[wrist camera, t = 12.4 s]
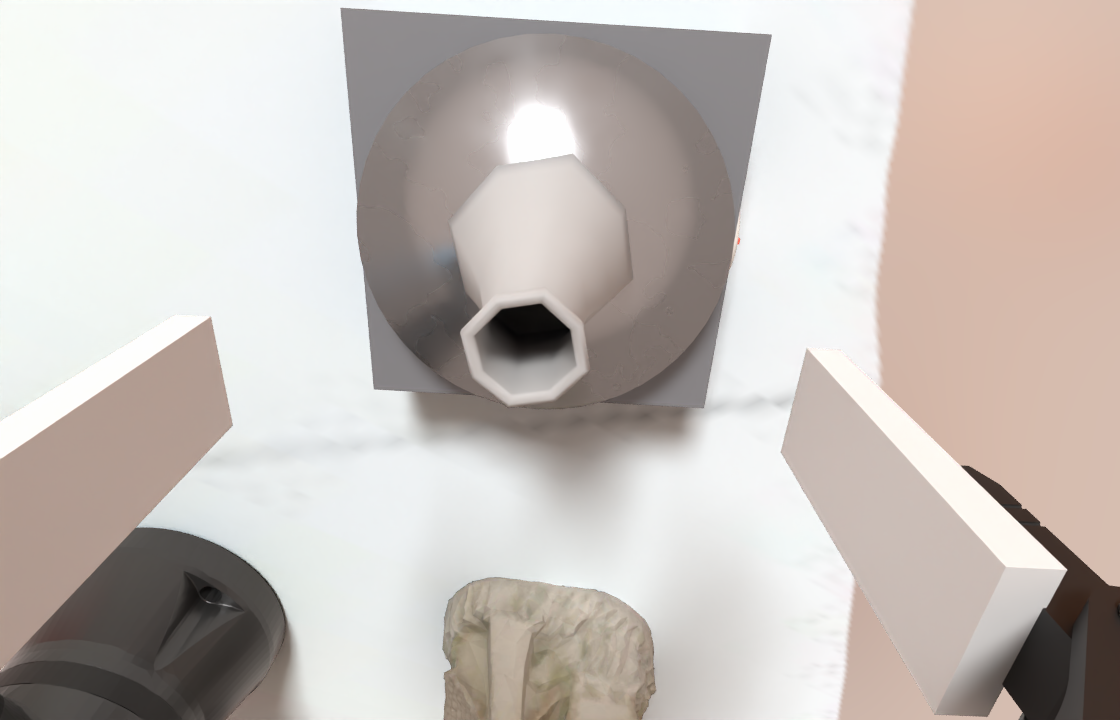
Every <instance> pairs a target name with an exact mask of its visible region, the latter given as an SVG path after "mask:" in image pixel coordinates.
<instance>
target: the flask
mask: <svg viewBox="0 0 1120 720" xmlns="http://www.w3.org/2000/svg"><path fill="white" fill-rule="evenodd" d="M448 222H449V226H450V231H451V235H452V239H453V243H454V247H455V252H456V256H457V260H458V264H459V269H460V273H461V277H462V281H463V285H464V290H465V291H466V293H467V294H468V295H469V297H470V298H471V299H472V300H473V301H474V302H475V303H476V305H477V306H478V307H479V309H480V311H479V312H478V313H477V314H476V315H475V316H474V317H473V318H472V319H471V320H470V321H469V322H468V323H467V324H466V325H465V326H464V327H463V328H462V329H461V332H460V334H461V338H462V342H463V346H464V350H465V354H466V358H467V362H468V366H469V370H470V374H471V378H472V379H473V380H474V381H476V382H477V383H478V384H479V385H480V386H482V387H483V388H484V389H485V390H487V391H488V392H489V393H490V394H491V395H493V396H494V397H495V398H496V399H497V400H499V401H500V402H501V403H502V404H504V405H505V406H506V407H507V408H512V407H520V406H528V405H535V404H543V403H551V402H556V401H557V400H558V399H559V398H560V397H561V396H562V395H564V394H565V393H566V392H567V391H568V390H569V389H570V388H571V387H572V386H574V385H575V384H576V383H577V382H578V381H579V380H580V379H581V378H583V377H584V376H585V375H586V374H587V373H588V372H589V371H590V365H589V358H588V352H587V345H586V338H585V332H584V325H585V324H586V323H587V322H588V321H589V320H590V319H591V318H592V317H593V316H594V315H595V314H596V313H598V312H599V311H600V310H601V309H602V308H603V307H604V306H605V305H606V304H607V303H608V302H609V301H610V300H611V299H613V298H614V297H615V296H616V295H617V294H618V293H619V292H620V291H621V290H622V289H623V288H624V287H625V286H626V285H628V284H629V283H630V282H631V281H632V280H633V279H634V278H633V269H632V260H631V251H630V242H629V233H628V224H627V215H626V208H625V207H624V206H623V205H622V204H621V203H620V202H619V201H618V200H617V198H616V197H615V196H614V195H613V194H612V193H611V192H610V191H609V190H608V189H607V188H606V187H605V186H604V185H603V184H602V183H601V182H600V181H599V180H598V179H597V178H596V177H595V176H594V175H593V174H592V173H591V172H590V171H589V170H588V169H587V168H586V167H585V166H584V165H583V164H582V162H581V161H580V160H579V159H578V158H577V157H576V156H575V155H574V154H573V153H572V154H565V155H559V156H553V157H547V158H541V159H535V160H529V161H523V162H517V163H511V164H505V165H498V166H496V167H495V168H494V170H493V171H492V172H491V173H490V174H489V175H488V176H487V177H486V179H485V180H484V181H483V182H482V183H481V184H480V185H479V186H478V188H477V189H476V190H475V191H474V192H473V193H472V194H471V195H470V197H469V198H468V199H467V200H466V201H465V202H464V203H463V204H462V206H461V207H460V208H459V209H458V210H457V211H456V212H455V213H454V215H453V216H452V217H451V218H450V219H449V220H448Z"/></svg>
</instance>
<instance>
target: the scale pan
mask: <svg viewBox="0 0 1120 720" xmlns="http://www.w3.org/2000/svg"><path fill="white" fill-rule="evenodd" d="M572 153H573V154H574V155H575V156H576V157H577V158H578V159H579V160H580V161H581V162H582V164H583V165H584V166H585V167H586V168H587V169H588V170H589V171H590V172H591V173H592V174H593V175H594V176H595V177H596V178H597V179H598V180H599V181H600V182H601V183H602V184H603V185H604V186H605V187H606V188H607V189H608V190H609V191H610V192H611V193H612V194H613V195H614V196H615V197H616V198H617V200H618V201H619V202H620V203H621V204H622V205H623V206H624V207H625V208H626V215H627V224H628V233H629V242H630V251H631V260H632V269H633V278H634V279H633V280H632V281H631V282H630V283H629V284H628V285H626V286H625V287H624V288H623V289H622V290H621V291H620V292H619V293H618V294H617V295H616V296H615V297H614V298H613V299H611V300H610V301H609V302H608V303H607V304H606V305H605V306H604V307H603V308H602V309H601V310H600V311H599V312H598V313H596V314H595V315H594V316H593V317H592V318H591V319H590V320H589V321H588V322H587V323H586V324H585V325H584V332H585V338H586V345H587V352H588V358H589V365H590V371H589V372H588V373H587V374H586V375H585V376H584V377H583V378H581V379H580V380H579V381H578V382H577V383H576V384H575V385H574V386H572V387H571V388H570V389H569V390H568V391H567V392H566V393H565V394H564V395H562V396H561V397H560V398H559V399H558V400H557V401H556V402H551V403H543V404H535V405H528V406H520V407H524V408H533V409H564V408H573V407H581V406H585V405H590V404H594V403H598V402H602V401H605V400H608V399H611V398H614V397H616V396H619V395H622V394H624V393H626V392H628V391H630V390H632V389H634V388H636V387H638V386H640V385H642V384H644V383H645V382H647V381H648V380H650V379H651V378H653V377H654V376H656V375H657V374H659V373H660V372H662V371H663V370H664V369H665V368H666V367H668V366H669V365H670V364H671V363H672V362H674V361H675V360H676V359H677V358H678V357H679V356H680V355H681V354H682V353H683V352H684V351H685V350H686V349H687V347H688V346H689V345H690V344H691V343H692V342H693V341H694V339H695V338H696V337H697V335H698V334H699V333H700V331H701V330H702V328H703V327H704V326H705V324H706V323H707V321H708V319H709V317H710V316H711V314H712V312H713V310H714V308H715V306H716V305H717V303H718V300H719V298H720V295H721V293H722V290H723V288H724V285H725V282H726V279H727V275H728V271H729V267H730V263H731V259H732V253H733V244H734V236H735V217H734V203H733V196H732V190H731V183H730V180H729V176H728V173H727V170H726V166H725V163H724V160H723V157H722V155H721V152H720V150H719V148H718V146H717V144H716V142H715V139H714V137H713V135H712V133H711V132H710V130H709V128H708V127H707V125H706V124H705V122H704V121H703V119H702V117H701V116H700V114H699V113H698V111H697V110H696V109H695V108H694V107H693V105H692V104H691V103H690V102H689V101H688V100H687V98H686V97H685V96H684V95H683V94H682V92H681V91H680V90H679V89H677V88H676V87H675V86H674V85H673V84H672V83H671V82H669V81H668V80H667V79H666V78H665V77H664V76H663V75H662V74H660V73H659V72H658V71H656V70H655V69H653V68H652V67H650V66H648V65H647V64H645V63H644V62H642V61H641V60H639V59H638V58H636V57H634V56H632V55H630V54H628V53H625V52H623V51H621V50H619V49H617V48H615V47H612V46H610V45H607V44H604V43H600V42H597V41H593V40H590V39H586V38H583V37H576V36H568V35H561V34H523V35H517V36H511V37H505V38H499V39H496V40H492V41H489V42H486V43H483V44H480V45H477V46H474V47H471V48H469V49H467V50H465V51H463V52H461V53H459V54H457V55H455V56H453V57H451V58H449V59H447V60H446V61H444V62H443V63H441V64H440V65H438V66H437V67H435V68H434V69H433V70H431V71H430V72H428V73H427V74H425V75H424V76H423V77H422V78H421V79H420V80H419V81H418V82H417V83H416V84H415V85H414V86H412V87H411V88H410V89H409V90H408V91H407V92H406V93H405V94H404V95H403V97H402V98H401V99H400V101H399V102H398V103H397V104H396V106H395V107H394V108H393V109H392V111H391V112H390V113H389V114H388V116H387V118H386V120H385V121H384V123H383V125H382V126H381V128H380V130H379V132H378V133H377V135H376V137H375V139H374V142H373V144H372V146H371V149H370V151H369V154H368V156H367V159H366V161H365V165H364V169H363V173H362V177H361V181H360V185H359V194H358V203H357V237H358V243H359V250H360V256H361V261H362V265H363V268H364V271H365V275H366V278H367V282H368V284H369V287H370V289H371V291H372V294H373V296H374V298H375V300H376V303H377V305H378V306H379V308H380V310H381V312H382V313H383V315H384V317H385V318H386V320H387V322H388V324H389V325H390V326H391V328H392V329H393V330H394V332H395V333H396V334H397V335H398V337H399V338H400V339H401V341H402V342H403V343H404V344H405V345H406V346H407V347H408V348H409V349H410V350H411V351H412V352H413V353H414V354H415V356H416V357H417V358H418V359H420V360H421V361H422V362H423V363H425V364H426V365H427V366H428V367H429V368H431V369H432V370H433V371H434V372H436V373H437V374H439V375H440V376H442V377H443V378H445V379H446V380H448V381H450V382H451V383H453V384H454V385H456V386H458V387H460V388H462V389H464V390H466V391H468V392H471V393H473V394H475V395H478V396H480V397H483V398H486V399H489V400H492V401H494V402H499V403H501V402H500V401H499V400H497V399H496V398H495V397H494V396H493V395H491V394H490V393H489V392H488V391H487V390H485V389H484V388H483V387H482V386H480V385H479V384H478V383H477V382H476V381H474V380H473V379H472V378H471V374H470V370H469V366H468V362H467V358H466V354H465V350H464V346H463V342H462V338H461V334H460V332H461V329H462V328H463V327H464V326H465V325H466V324H467V323H468V322H469V321H470V320H471V319H472V318H473V317H474V316H475V315H476V314H477V313H478V312H479V311H480V309H479V307H478V306H477V305H476V303H475V302H474V301H473V300H472V299H471V298H470V297H469V295H468V294H467V293H466V291H465V290H464V285H463V281H462V277H461V273H460V269H459V264H458V260H457V256H456V252H455V247H454V243H453V239H452V235H451V231H450V226H449V222H448V220H449V219H450V218H451V217H452V216H453V215H454V213H455V212H456V211H457V210H458V209H459V208H460V207H461V206H462V204H463V203H464V202H465V201H466V200H467V199H468V198H469V197H470V195H471V194H472V193H473V192H474V191H475V190H476V189H477V188H478V186H479V185H480V184H481V183H482V182H483V181H484V180H485V179H486V177H487V176H488V175H489V174H490V173H491V172H492V171H493V170H494V168H495V167H496V166H498V165H505V164H511V163H517V162H523V161H529V160H535V159H541V158H547V157H553V156H559V155H565V154H572Z"/></svg>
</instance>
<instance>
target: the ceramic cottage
mask: <svg viewBox="0 0 1120 720" xmlns="http://www.w3.org/2000/svg"><path fill="white" fill-rule="evenodd" d="M443 651H444V653H445V656H446V659H448V660H449V662H450V665H451V670H449V671H447V672H445V673H444V679H445V693H446V699H445V705H444V720H642V716H643V713H644V712H645V711H646V709H647V707H648V701H649V699H650V698H651V695H652V694H654V693H655V691H656V688H655V683H654V682H655V681H654V668H653V654H654V647H653V641H652V637H651V630H650V628H649V626H648V624H647V623H646V621H645V619H643V618H642V617H641V616H640V615H639V614H638V613H637V612H636V611H635V610H633V609H632V608H631V607H630V606H628V605H627V604H626V603H623V602H622V601H621V600H619V599H618V598H616V597H614V596H612V595H609V594H607V593H605V592H597V590H594V589H583V588H577V587H565V586H558V585H552V584H548V583H543V582H529V581H524V580H517V579H507V578H499V577H497V578H486V579H482V580H479V581H475V582H474V581H473V582H472V583H469V584H467V585H466V586H465V587H463V588H462V589H460V590H459V591H457V592H456V593H455V595H454V597H453V598H451V599H450V600H449V602H448V606H447V609H446V613H445V617H444V639H443Z"/></svg>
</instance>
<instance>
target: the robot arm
mask: <svg viewBox="0 0 1120 720" xmlns="http://www.w3.org/2000/svg"><path fill="white" fill-rule="evenodd" d="M232 426H233V424H232V419H231V414H230V409H229V404H228V399H227V394H226V389H225V384H224V380H223V375H222V370H221V365H220V360H219V355H218V350H217V345H216V340H215V335H214V330H213V325H212V320H211V317H207V316H188V315H174V316H173V317H171V318H169V319H168V320H166V321H164V322H163V323H161V324H159V325H158V326H156V327H154V328H153V329H151V330H150V331H148V332H146V333H145V334H143V335H141V336H140V337H138V338H136V339H135V340H133V341H132V342H130V343H128V344H127V345H125V346H123V347H122V348H120V349H118V350H117V351H115V352H114V353H112V354H110V355H109V356H107V357H105V358H104V359H102V360H100V361H99V362H97V363H95V364H94V365H92V366H91V367H89V368H87V369H86V370H84V371H82V372H81V373H79V374H77V375H76V376H74V377H73V378H71V379H69V380H68V381H66V382H64V383H63V384H61V385H59V386H58V387H56V388H54V389H53V390H51V391H50V392H48V393H46V394H45V395H43V396H41V397H40V398H38V399H36V400H35V401H33V402H32V403H30V404H28V405H27V406H25V407H23V408H22V409H20V410H18V411H17V412H15V413H13V414H12V415H10V416H9V417H7V418H5V419H4V420H2V421H0V670H1V669H2V668H3V667H4V668H3V669H2V670H1V671H0V720H226V718H227V717H228V716H229V715H230V714H231V713H232V712H233V711H234V710H235V709H236V708H237V707H238V706H239V705H240V704H241V702H242V701H243V700H244V699H245V698H246V697H247V696H248V695H249V694H250V693H251V692H253V691H254V690H255V689H256V688H257V686H258V685H259V684H260V683H261V682H262V680H263V679H264V677H265V676H266V675H267V673H268V671H269V669H270V667H271V665H272V663H273V661H274V659H275V657H276V656H277V654H278V652H279V650H280V647H281V645H282V642H283V639H284V634H285V622H284V616H283V612H282V609H281V606H280V604H279V601H278V599H277V598H276V596H275V594H274V592H273V591H272V589H271V588H270V587H269V585H268V584H267V583H266V581H265V580H264V579H263V578H262V577H261V576H260V575H259V574H258V573H257V572H256V571H255V570H254V569H253V568H252V567H250V566H249V565H248V564H247V563H245V562H244V561H243V560H241V559H240V558H239V557H237V556H236V555H234V554H232V553H231V552H229V551H227V550H226V549H224V548H222V547H220V546H218V545H216V544H214V543H211V542H209V541H207V540H204V539H202V538H199V537H196V536H193V535H190V534H186V533H182V532H178V531H173V530H167V529H160V528H136V527H137V526H138V525H139V523H140V522H141V521H142V520H143V519H144V518H145V517H146V516H147V515H148V514H149V513H150V512H151V511H152V510H153V509H154V508H155V507H156V506H157V505H158V503H159V502H160V501H161V500H162V499H163V498H164V497H165V496H166V495H167V494H168V493H169V492H170V491H171V490H172V489H173V488H174V487H175V486H176V485H177V483H178V482H179V481H180V480H181V479H182V478H183V477H184V476H185V475H186V474H187V473H188V472H189V471H190V470H191V469H192V468H193V467H194V466H195V465H196V463H197V462H198V461H199V460H200V459H201V458H202V457H203V456H204V455H205V454H206V453H207V452H208V451H209V450H210V449H211V448H212V447H213V446H214V445H215V444H216V442H217V441H218V440H219V439H220V438H221V437H222V436H223V435H224V434H225V433H226V432H227V431H228V430H229V429H230V428H231V427H232ZM781 453H782V455H783V457H784V458H785V460H786V462H787V464H788V465H789V467H790V469H791V470H792V472H793V474H794V476H795V477H796V479H797V481H798V482H799V484H800V486H801V488H802V489H803V491H804V493H805V494H806V496H807V498H808V499H809V501H810V503H811V505H812V506H813V508H814V510H815V511H816V513H817V515H818V517H819V518H820V520H821V522H822V523H823V525H824V527H825V528H826V530H827V532H828V534H829V535H830V537H831V539H832V540H833V542H834V544H835V546H836V547H837V549H838V551H839V552H840V554H841V556H842V557H843V559H844V561H845V563H846V564H847V566H848V568H849V569H850V571H851V573H852V575H853V576H854V578H855V580H856V581H857V583H858V585H859V587H860V588H861V590H862V592H863V593H864V595H865V597H866V598H867V600H868V602H869V604H870V605H871V607H872V609H873V610H874V612H875V614H876V616H877V617H878V619H879V621H880V622H881V624H882V626H883V627H884V629H885V631H886V633H887V634H888V636H889V638H890V639H891V641H892V643H893V644H894V646H895V648H896V650H897V651H898V653H899V655H900V656H901V658H902V660H903V662H904V663H905V665H906V667H907V668H908V670H909V672H910V673H911V675H912V677H913V679H914V680H915V682H916V684H917V686H918V687H919V689H920V691H921V692H922V694H923V696H924V697H925V699H926V701H927V703H928V704H929V706H930V708H931V709H932V711H933V713H934V714H935V715H959V716H984V717H987V716H988V715H989V713H990V711H991V709H992V707H993V706H994V704H995V702H996V700H997V698H998V697H999V695H1000V693H1001V691H1002V689H1003V687H1005V689H1006V690H1007V691H1008V693H1009V694H1010V696H1011V697H1012V698H1013V700H1014V701H1015V702H1016V704H1017V705H1018V706H1019V708H1020V709H1021V710H1022V712H1023V713H1022V715H1021V716H1020V718H1019V720H1120V587H1116V586H1109V585H1107V584H1106V583H1105V582H1104V581H1103V580H1102V579H1101V578H1100V577H1099V576H1098V575H1097V574H1095V572H1093V571H1092V570H1091V569H1090V568H1089V567H1088V566H1087V565H1086V564H1085V563H1084V562H1083V561H1082V560H1080V559H1079V558H1078V557H1077V556H1076V555H1075V554H1074V553H1073V552H1072V551H1071V550H1070V549H1069V548H1067V547H1066V546H1065V545H1064V544H1063V543H1062V542H1061V541H1060V540H1059V539H1058V538H1057V537H1056V536H1055V535H1053V534H1052V533H1051V532H1050V531H1049V530H1048V529H1047V528H1046V527H1041V526H1040V521H1038V520H1037V519H1036V518H1035V517H1034V516H1033V515H1032V514H1031V513H1030V512H1029V511H1028V510H1027V509H1022V508H1021V506H1022V505H1021V504H1020V503H1019V502H1018V501H1017V500H1016V499H1014V497H1013V496H1011V495H1010V494H1009V493H1008V492H1007V491H1006V490H1005V489H1004V488H1003V487H1002V486H1001V485H999V484H998V483H996V482H994V481H993V480H991V479H990V478H988V477H986V476H985V475H983V474H981V473H980V472H978V471H976V470H975V469H973V468H971V467H969V466H960V465H959V464H958V463H957V462H956V461H955V460H954V459H952V458H951V456H950V455H949V454H947V452H945V451H944V450H943V449H942V448H941V447H940V446H939V445H938V444H937V443H936V442H935V441H934V440H933V439H932V438H931V437H930V436H929V435H928V434H927V433H926V432H925V431H924V430H923V429H922V428H921V427H920V426H919V425H918V424H917V423H916V422H914V420H912V418H910V417H909V416H908V415H907V414H906V413H905V412H904V411H903V410H902V409H901V408H900V407H899V406H898V405H897V404H896V403H895V402H894V401H893V400H892V399H891V398H890V397H889V396H888V395H887V394H886V393H885V392H884V391H883V390H882V389H881V388H880V387H879V386H878V385H877V384H876V383H874V382H873V381H872V380H871V379H870V378H869V377H868V376H867V375H866V374H865V373H864V372H863V371H862V370H861V369H860V368H859V367H858V366H857V365H856V364H855V363H854V362H853V361H852V360H851V359H850V358H849V357H848V356H847V355H846V354H845V353H844V352H843V351H842V350H835V349H816V348H807V349H806V353H805V357H804V361H803V365H802V369H801V373H800V377H799V381H798V385H797V389H796V393H795V397H794V401H793V405H792V409H791V413H790V417H789V421H788V425H787V429H786V433H785V437H784V441H783V445H782V449H781ZM5 664H6V665H5ZM4 665H5V666H4Z"/></svg>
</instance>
